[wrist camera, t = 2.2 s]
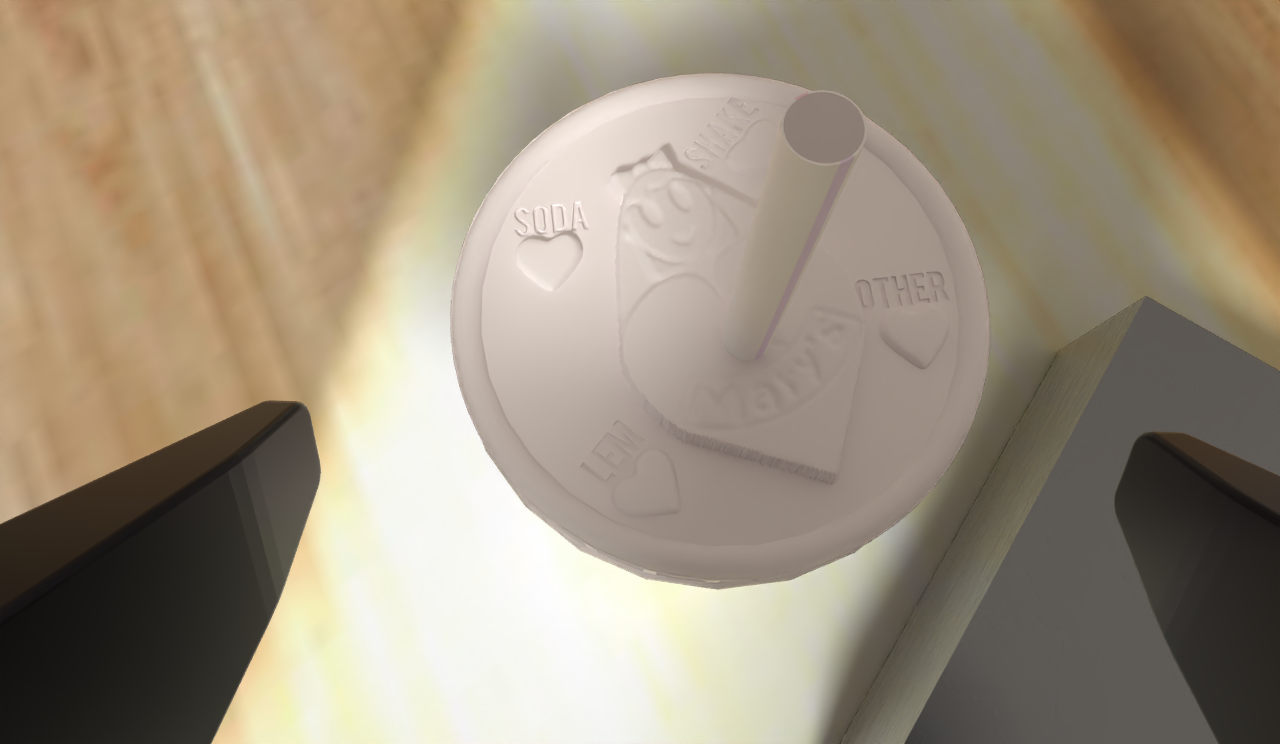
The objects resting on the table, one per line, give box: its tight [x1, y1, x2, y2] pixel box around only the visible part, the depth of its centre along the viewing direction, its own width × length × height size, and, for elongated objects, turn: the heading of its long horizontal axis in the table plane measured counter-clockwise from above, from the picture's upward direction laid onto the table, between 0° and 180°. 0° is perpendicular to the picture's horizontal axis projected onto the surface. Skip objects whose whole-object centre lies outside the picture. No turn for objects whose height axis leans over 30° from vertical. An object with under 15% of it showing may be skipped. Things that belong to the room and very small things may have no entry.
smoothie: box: [450, 73, 990, 589], centre depth 12 cm, size 6×6×14 cm
